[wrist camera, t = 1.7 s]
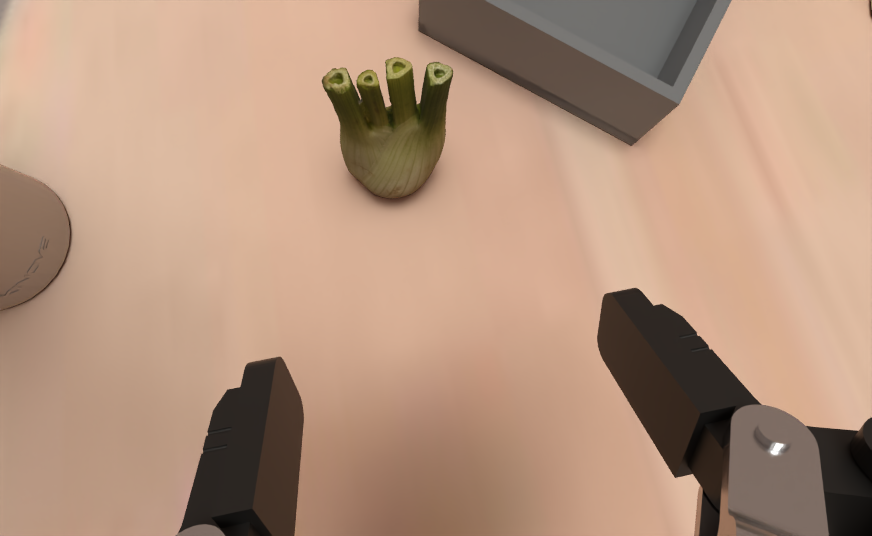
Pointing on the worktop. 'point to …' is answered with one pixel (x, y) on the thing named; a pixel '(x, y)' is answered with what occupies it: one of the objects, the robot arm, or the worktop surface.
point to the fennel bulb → (391, 125)
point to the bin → (586, 51)
